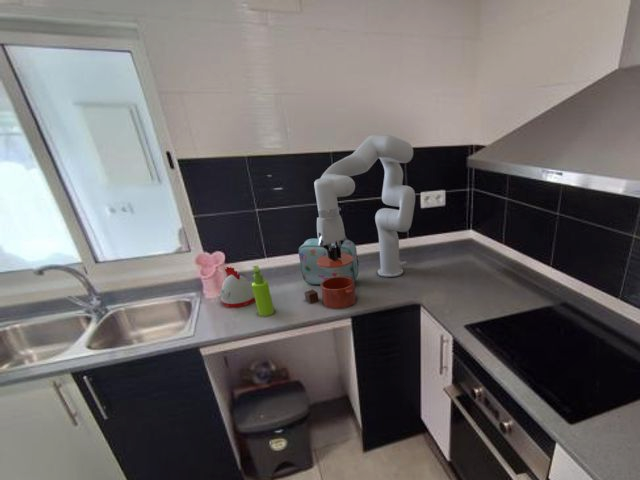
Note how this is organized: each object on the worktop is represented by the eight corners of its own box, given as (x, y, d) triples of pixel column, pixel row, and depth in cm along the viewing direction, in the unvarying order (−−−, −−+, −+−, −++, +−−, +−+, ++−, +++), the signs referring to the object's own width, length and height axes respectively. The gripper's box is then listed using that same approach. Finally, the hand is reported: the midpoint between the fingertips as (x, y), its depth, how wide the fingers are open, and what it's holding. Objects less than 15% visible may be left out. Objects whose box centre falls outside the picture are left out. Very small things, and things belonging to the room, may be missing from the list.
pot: (340, 289, 173) (338, 272, 169) (365, 303, 161) (364, 284, 156) (314, 299, 164) (311, 281, 160) (338, 314, 152) (336, 295, 148)
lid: (340, 253, 163) (338, 238, 160) (360, 261, 154) (359, 246, 151) (310, 262, 155) (307, 247, 151) (329, 272, 145) (327, 256, 142)
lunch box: (363, 279, 183) (359, 235, 173) (358, 287, 174) (353, 242, 164) (309, 277, 186) (302, 234, 175) (302, 286, 177) (294, 241, 166)
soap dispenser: (260, 318, 150) (248, 271, 140) (258, 311, 155) (246, 265, 146) (275, 315, 152) (265, 268, 143) (272, 308, 158) (262, 262, 148)
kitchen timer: (243, 290, 173) (234, 259, 166) (263, 297, 167) (256, 265, 160) (215, 302, 162) (205, 270, 155) (236, 310, 156) (227, 276, 149)
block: (314, 297, 166) (312, 289, 164) (318, 300, 163) (317, 292, 161) (305, 300, 163) (304, 292, 161) (310, 303, 161) (309, 295, 159)
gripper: (341, 207, 152) (346, 251, 161) (304, 215, 142) (312, 261, 151) (351, 210, 147) (356, 255, 156) (315, 219, 137) (322, 266, 146)
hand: (335, 258), depth 153 cm, fingers closed on lid, 2 cm apart
